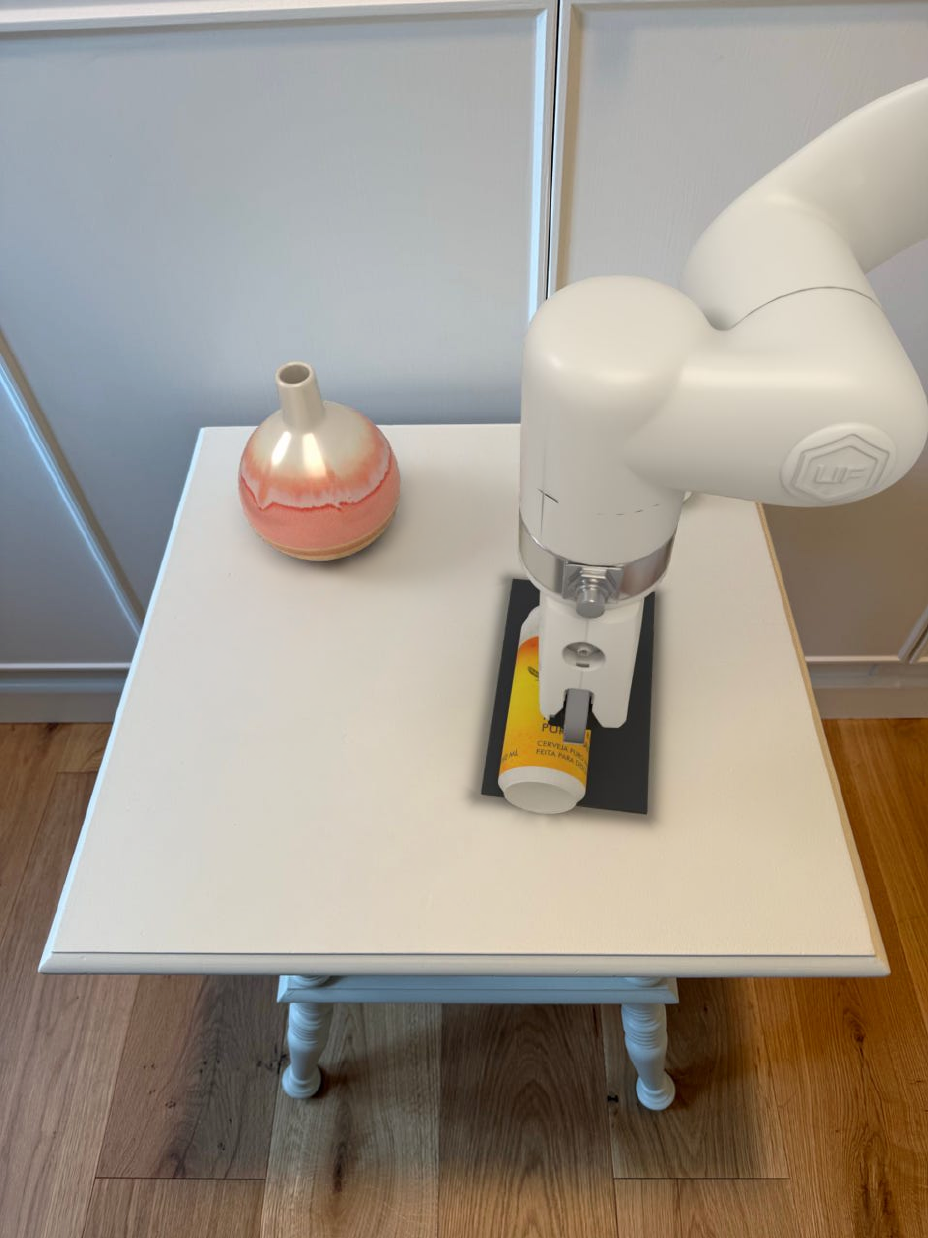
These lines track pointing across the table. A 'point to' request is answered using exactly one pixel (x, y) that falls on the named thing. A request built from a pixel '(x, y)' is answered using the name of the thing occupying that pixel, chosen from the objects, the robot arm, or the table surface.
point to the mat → (612, 751)
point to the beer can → (538, 741)
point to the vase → (317, 473)
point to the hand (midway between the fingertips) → (573, 717)
